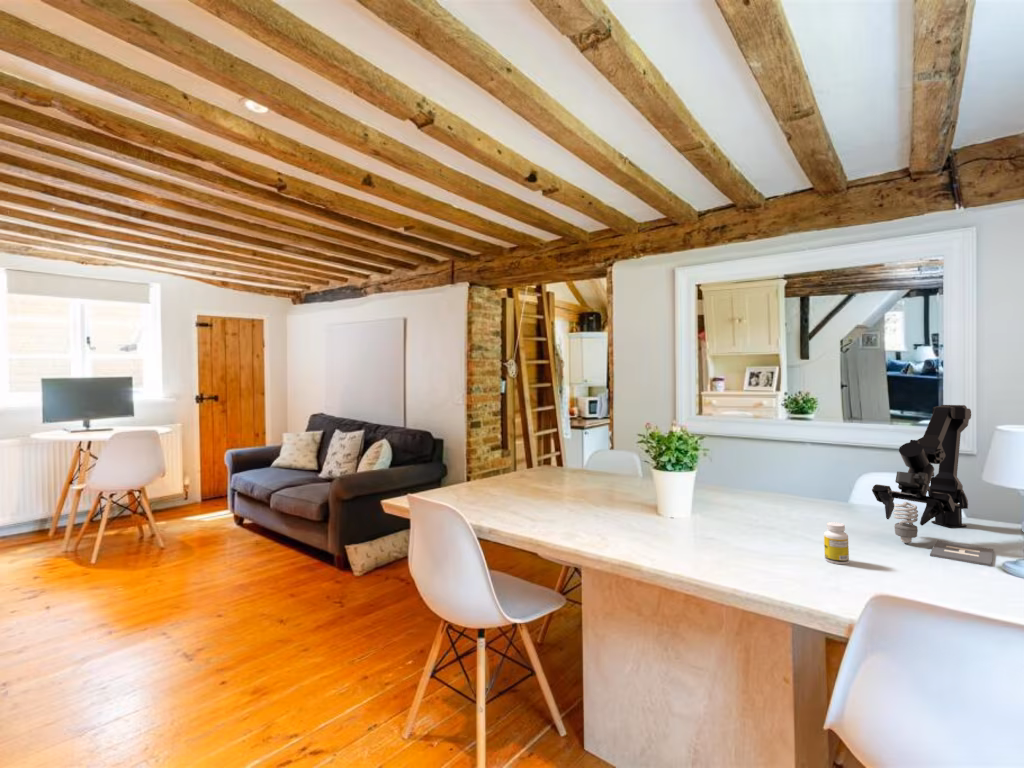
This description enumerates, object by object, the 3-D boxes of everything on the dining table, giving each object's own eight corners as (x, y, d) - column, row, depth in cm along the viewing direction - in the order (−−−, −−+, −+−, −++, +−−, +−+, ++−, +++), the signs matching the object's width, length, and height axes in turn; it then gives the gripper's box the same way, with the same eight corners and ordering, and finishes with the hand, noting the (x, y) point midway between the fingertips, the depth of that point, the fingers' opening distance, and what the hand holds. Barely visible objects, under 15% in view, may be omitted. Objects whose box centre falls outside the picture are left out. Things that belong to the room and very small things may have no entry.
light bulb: (908, 547, 146) (907, 504, 146) (889, 541, 151) (888, 500, 151) (923, 545, 147) (922, 503, 147) (903, 540, 152) (903, 499, 152)
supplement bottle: (826, 556, 139) (825, 520, 139) (850, 560, 136) (849, 523, 136) (822, 562, 135) (822, 524, 135) (847, 566, 132) (846, 527, 132)
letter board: (936, 542, 150) (936, 539, 150) (993, 551, 142) (993, 548, 142) (930, 555, 138) (930, 553, 138) (991, 566, 130) (991, 563, 130)
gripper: (874, 457, 159) (858, 498, 153) (950, 465, 143) (936, 510, 137) (885, 480, 163) (870, 521, 157) (960, 490, 148) (947, 535, 142)
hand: (903, 521), depth 148 cm, fingers open, 8 cm apart
